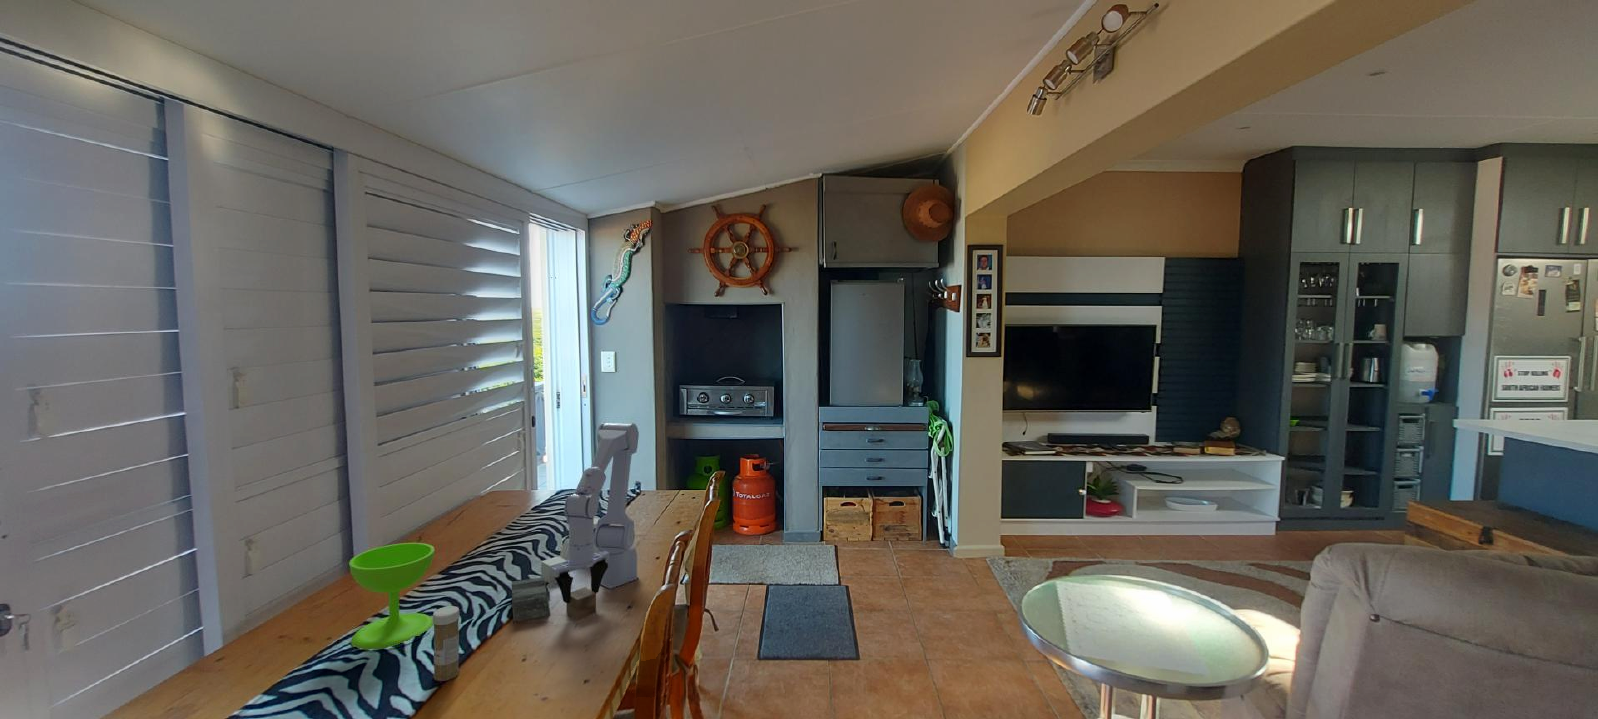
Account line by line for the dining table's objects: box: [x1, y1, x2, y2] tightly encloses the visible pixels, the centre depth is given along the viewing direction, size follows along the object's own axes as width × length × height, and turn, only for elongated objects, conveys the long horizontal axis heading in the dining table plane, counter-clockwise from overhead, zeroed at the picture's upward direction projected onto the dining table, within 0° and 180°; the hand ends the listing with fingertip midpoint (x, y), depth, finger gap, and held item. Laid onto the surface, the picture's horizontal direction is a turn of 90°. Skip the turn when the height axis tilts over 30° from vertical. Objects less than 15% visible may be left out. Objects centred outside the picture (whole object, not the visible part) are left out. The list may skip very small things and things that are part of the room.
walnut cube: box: [565, 587, 597, 621], centre depth 147 cm, size 5×5×5 cm
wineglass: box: [348, 542, 435, 650], centre depth 135 cm, size 16×16×18 cm
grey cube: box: [540, 556, 567, 584], centre depth 167 cm, size 5×5×5 cm
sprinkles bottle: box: [432, 605, 460, 682], centre depth 119 cm, size 5×5×14 cm
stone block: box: [511, 577, 551, 624], centre depth 150 cm, size 9×14×5 cm, turn 27°
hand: (581, 596), depth 147 cm, fingers open, 7 cm apart
